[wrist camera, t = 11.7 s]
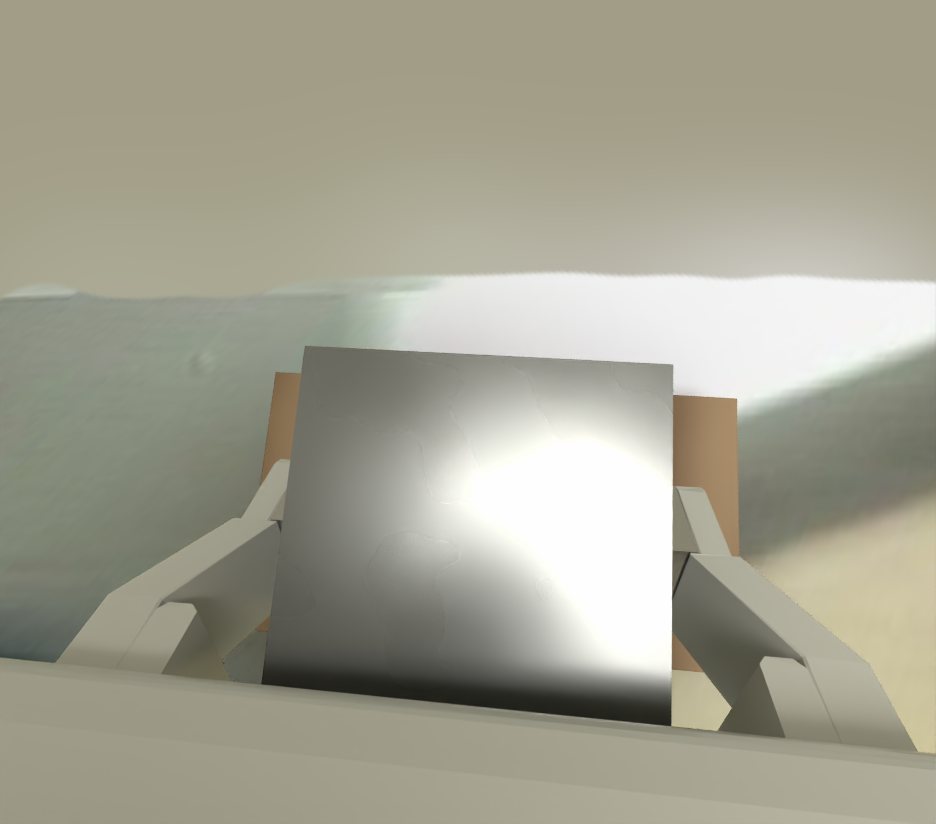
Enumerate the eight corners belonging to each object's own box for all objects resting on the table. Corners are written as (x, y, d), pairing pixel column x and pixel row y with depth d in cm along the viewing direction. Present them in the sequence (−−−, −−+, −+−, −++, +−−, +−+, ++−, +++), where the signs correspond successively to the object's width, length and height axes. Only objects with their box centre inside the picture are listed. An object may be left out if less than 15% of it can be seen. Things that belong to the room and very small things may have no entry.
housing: (392, 607, 14) (254, 737, 6) (408, 427, 15) (304, 345, 7) (575, 623, 14) (671, 782, 6) (581, 438, 15) (673, 364, 7)
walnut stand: (277, 610, 27) (237, 630, 23) (305, 389, 29) (273, 370, 25) (704, 649, 26) (744, 678, 22) (703, 413, 28) (739, 397, 24)
